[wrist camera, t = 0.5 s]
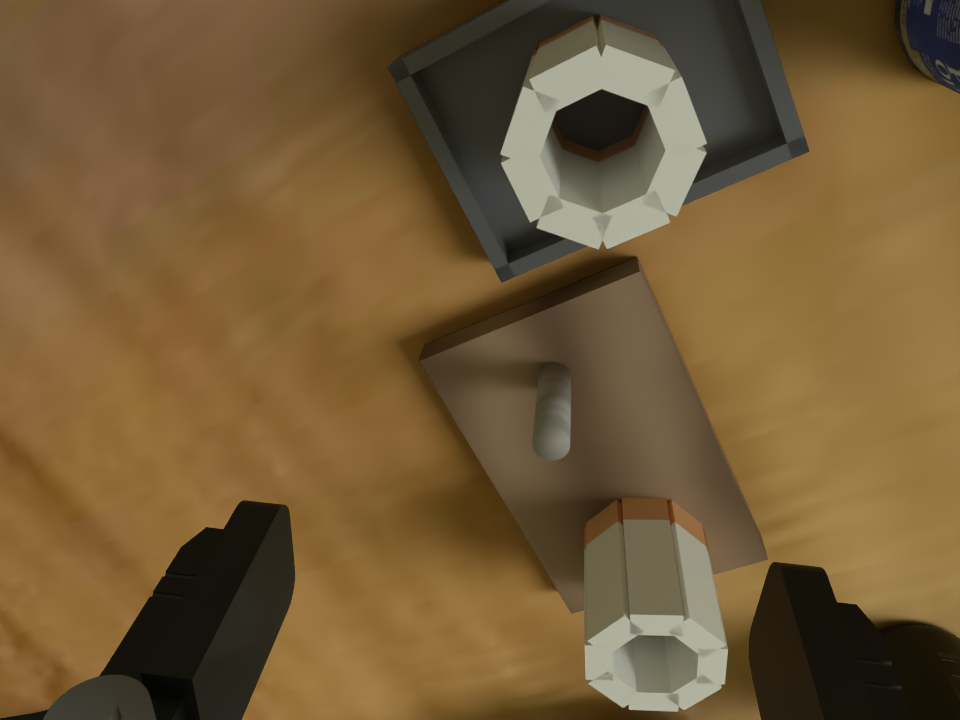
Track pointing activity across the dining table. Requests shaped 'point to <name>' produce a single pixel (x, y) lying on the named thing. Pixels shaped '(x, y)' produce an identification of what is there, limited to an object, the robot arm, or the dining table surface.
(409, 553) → the dining table surface
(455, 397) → the pin board
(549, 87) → the sleeve
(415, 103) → the feeder tray
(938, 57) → the pill bottle
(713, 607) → the seated sleeve
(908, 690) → the supplement bottle
